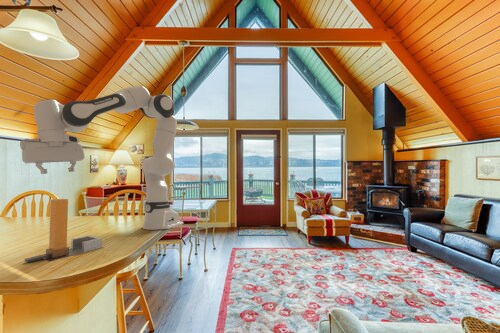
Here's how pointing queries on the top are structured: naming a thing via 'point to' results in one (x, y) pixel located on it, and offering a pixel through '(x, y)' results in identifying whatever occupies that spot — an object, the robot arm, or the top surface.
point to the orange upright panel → (56, 231)
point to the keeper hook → (86, 243)
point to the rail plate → (71, 253)
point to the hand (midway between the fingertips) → (58, 172)
